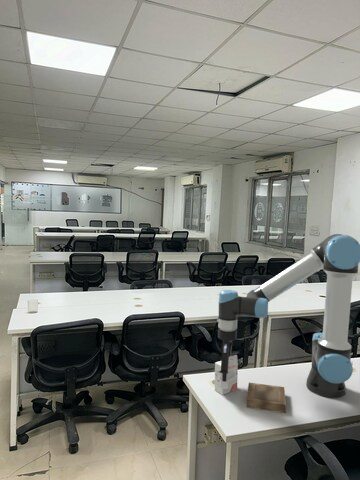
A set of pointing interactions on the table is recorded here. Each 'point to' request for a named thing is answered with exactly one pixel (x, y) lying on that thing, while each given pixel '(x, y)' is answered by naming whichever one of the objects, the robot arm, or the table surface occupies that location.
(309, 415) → the table surface
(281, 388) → the walnut base
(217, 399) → the table surface
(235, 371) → the ink cartridge box
